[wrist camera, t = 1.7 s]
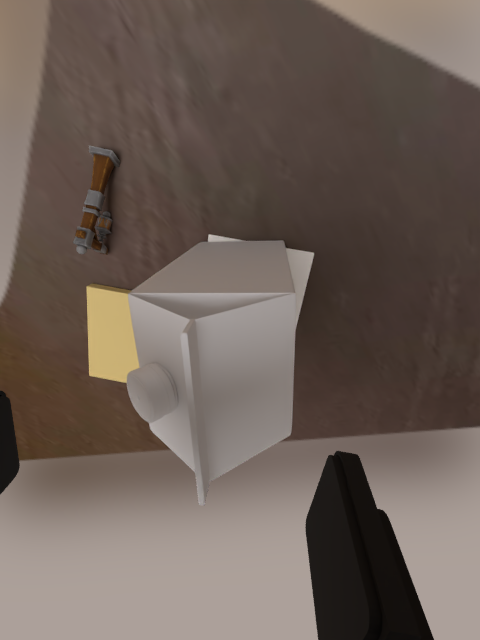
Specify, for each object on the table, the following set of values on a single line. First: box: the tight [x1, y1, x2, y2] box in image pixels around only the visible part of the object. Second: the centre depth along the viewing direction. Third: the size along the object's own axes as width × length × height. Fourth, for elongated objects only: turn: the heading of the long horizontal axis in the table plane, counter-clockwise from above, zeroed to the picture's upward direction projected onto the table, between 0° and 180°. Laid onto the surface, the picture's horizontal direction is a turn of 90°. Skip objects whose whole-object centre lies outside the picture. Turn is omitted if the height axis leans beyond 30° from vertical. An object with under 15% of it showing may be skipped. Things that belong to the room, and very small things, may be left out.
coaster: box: [87, 284, 140, 383], centre depth 31 cm, size 10×10×1 cm
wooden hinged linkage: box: [73, 146, 120, 255], centre depth 26 cm, size 2×8×4 cm, turn 169°
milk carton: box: [127, 240, 296, 505], centre depth 20 cm, size 7×7×19 cm
